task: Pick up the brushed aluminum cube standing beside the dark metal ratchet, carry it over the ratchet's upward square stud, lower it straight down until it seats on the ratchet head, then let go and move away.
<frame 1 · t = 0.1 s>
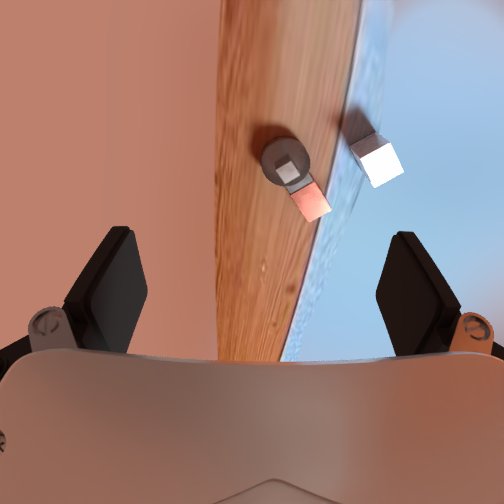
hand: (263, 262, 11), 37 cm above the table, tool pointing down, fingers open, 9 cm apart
brushed aluminum cube: (369, 152, 45), on the table
ratchet: (284, 158, 46), on the table
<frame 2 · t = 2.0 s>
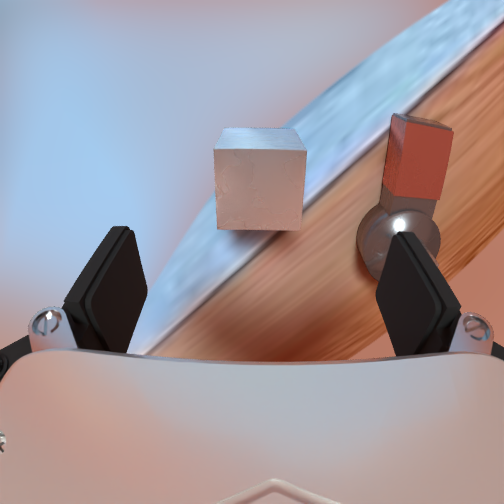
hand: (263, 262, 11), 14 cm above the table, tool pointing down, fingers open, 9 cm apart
brushed aluminum cube: (259, 160, 23), on the table
ratchet: (393, 233, 26), on the table
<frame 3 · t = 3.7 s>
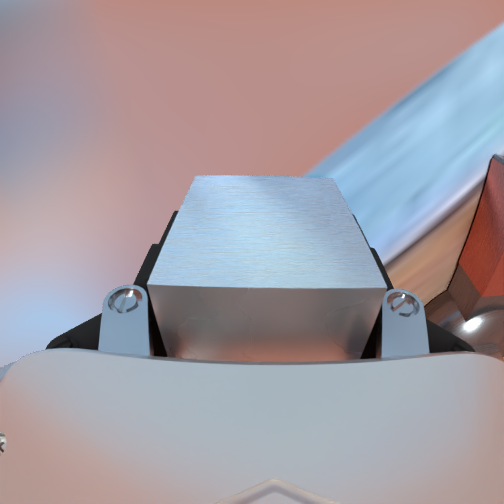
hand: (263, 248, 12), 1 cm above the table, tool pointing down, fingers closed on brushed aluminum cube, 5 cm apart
brushed aluminum cube: (263, 234, 13), on the table, touching gripper
ratchet: (454, 324, 16), on the table
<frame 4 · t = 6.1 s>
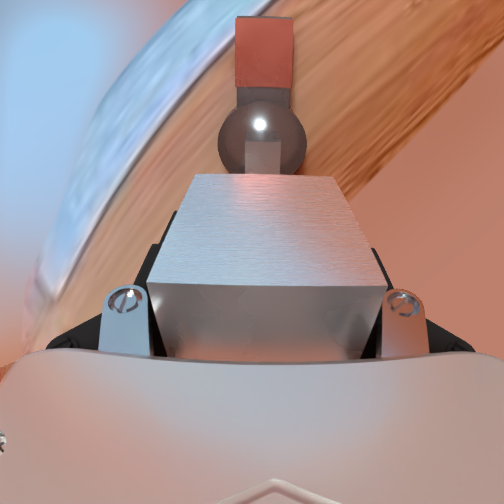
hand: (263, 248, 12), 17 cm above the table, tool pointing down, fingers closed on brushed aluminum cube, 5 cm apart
brushed aluminum cube: (263, 233, 13), point 16 cm above the table, touching gripper
ratchet: (261, 136, 26), on the table
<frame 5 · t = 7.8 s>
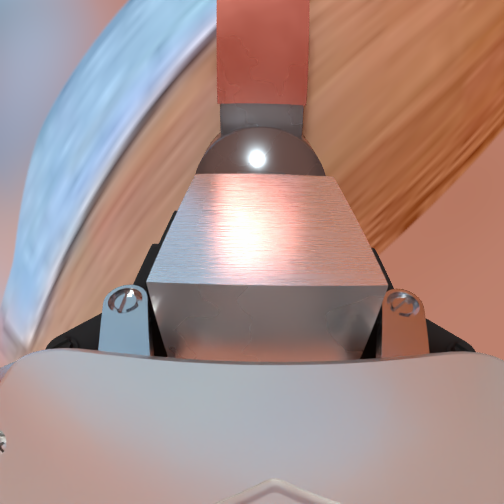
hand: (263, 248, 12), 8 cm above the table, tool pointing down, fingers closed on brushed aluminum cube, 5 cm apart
brushed aluminum cube: (263, 233, 13), point 7 cm above the table, touching gripper
ratchet: (260, 174, 18), on the table
when the fingers open (4 cm above the table, at t = 8.9 s): brushed aluminum cube stays where it is, resting on ratchet.
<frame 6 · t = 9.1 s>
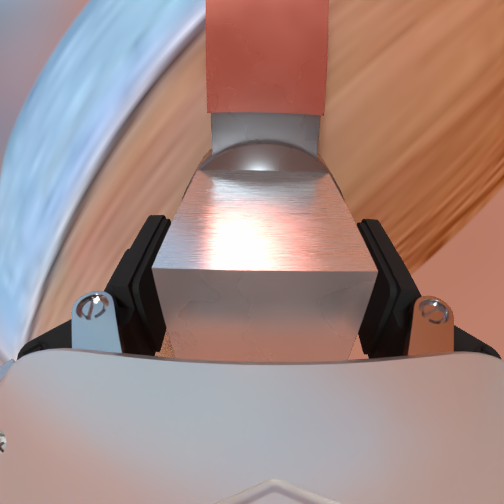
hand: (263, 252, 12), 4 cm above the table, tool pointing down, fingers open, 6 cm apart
brushed aluminum cube: (261, 227, 13), point 3 cm above the table, touching ratchet
ratchet: (262, 198, 15), on the table, touching brushed aluminum cube
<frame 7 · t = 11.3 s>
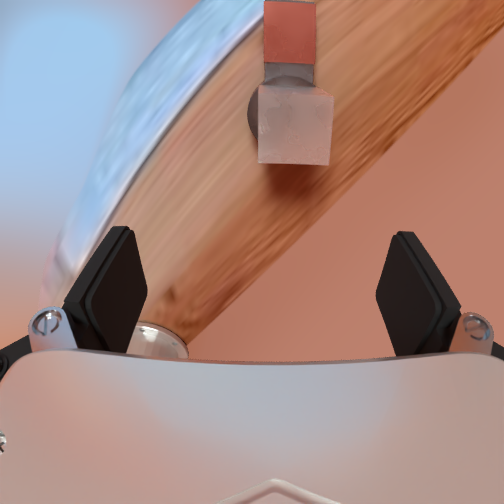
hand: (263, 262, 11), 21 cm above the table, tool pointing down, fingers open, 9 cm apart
brushed aluminum cube: (288, 113, 25), point 3 cm above the table, touching ratchet
ratchet: (286, 109, 27), on the table, touching brushed aluminum cube
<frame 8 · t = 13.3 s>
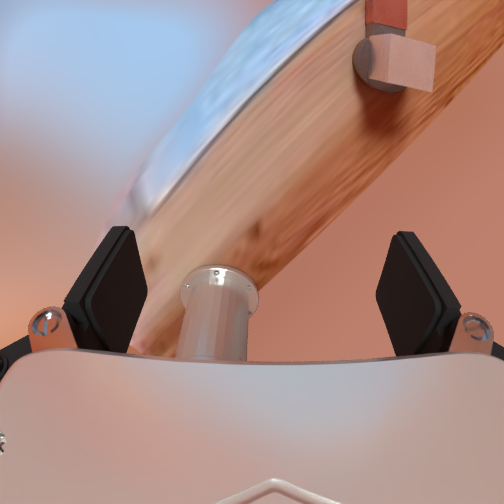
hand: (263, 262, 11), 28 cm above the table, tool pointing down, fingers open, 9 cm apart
brushed aluminum cube: (389, 60, 27), point 3 cm above the table, touching ratchet
ratchet: (380, 62, 30), on the table, touching brushed aluminum cube
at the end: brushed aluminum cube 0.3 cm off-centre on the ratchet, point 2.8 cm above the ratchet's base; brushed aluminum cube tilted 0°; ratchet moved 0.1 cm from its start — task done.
